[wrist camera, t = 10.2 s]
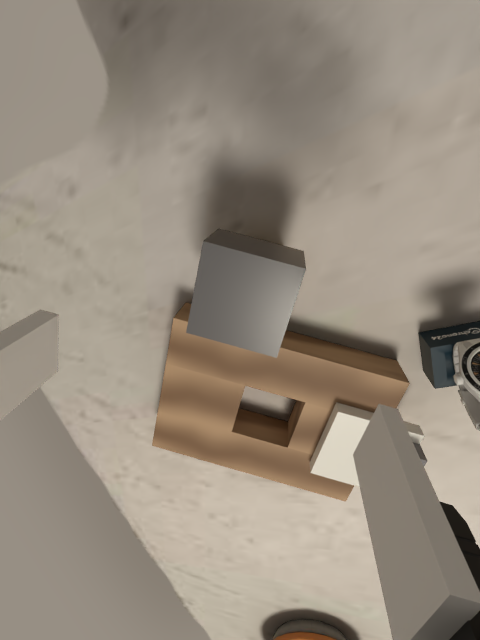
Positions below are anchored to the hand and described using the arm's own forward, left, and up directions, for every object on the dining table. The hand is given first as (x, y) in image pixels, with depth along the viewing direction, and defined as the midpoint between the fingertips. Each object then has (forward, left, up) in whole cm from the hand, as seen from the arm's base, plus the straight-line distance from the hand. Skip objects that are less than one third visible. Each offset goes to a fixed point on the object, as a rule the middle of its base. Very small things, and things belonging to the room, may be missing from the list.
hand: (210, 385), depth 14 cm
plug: (0, 0, -20) cm, 20 cm away
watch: (+3, +20, -21) cm, 29 cm away
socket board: (+14, +5, -20) cm, 25 cm away
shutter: (+14, +15, -16) cm, 26 cm away
